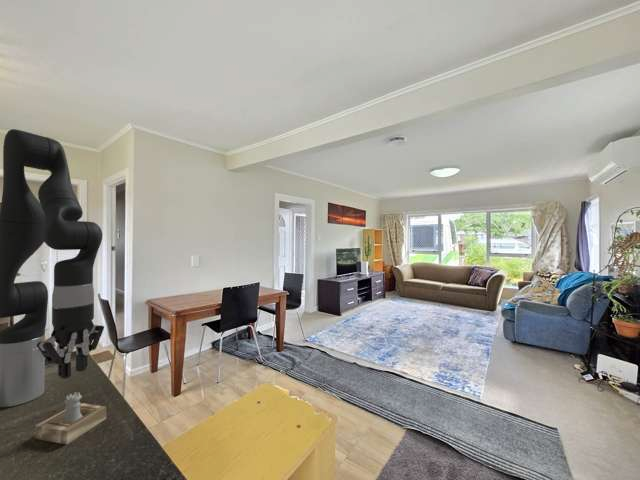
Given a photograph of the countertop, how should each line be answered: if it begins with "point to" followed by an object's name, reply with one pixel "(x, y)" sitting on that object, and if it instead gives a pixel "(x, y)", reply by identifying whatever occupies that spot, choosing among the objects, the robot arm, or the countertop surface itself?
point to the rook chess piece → (72, 408)
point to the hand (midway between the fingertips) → (73, 373)
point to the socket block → (67, 433)
